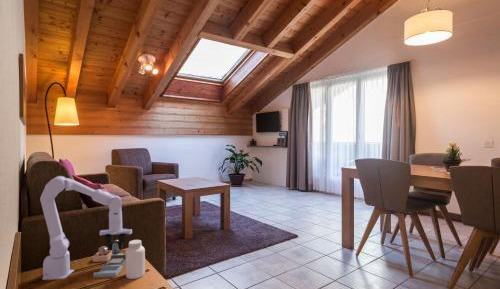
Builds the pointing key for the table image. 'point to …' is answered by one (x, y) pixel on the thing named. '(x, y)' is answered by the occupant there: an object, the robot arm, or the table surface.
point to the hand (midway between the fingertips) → (116, 249)
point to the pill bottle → (135, 260)
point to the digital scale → (117, 257)
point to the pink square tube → (102, 257)
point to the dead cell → (103, 251)
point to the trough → (108, 271)
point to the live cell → (116, 247)
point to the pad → (116, 261)
